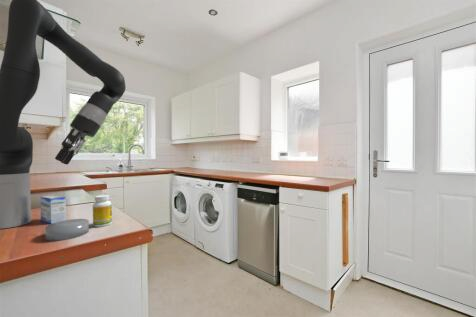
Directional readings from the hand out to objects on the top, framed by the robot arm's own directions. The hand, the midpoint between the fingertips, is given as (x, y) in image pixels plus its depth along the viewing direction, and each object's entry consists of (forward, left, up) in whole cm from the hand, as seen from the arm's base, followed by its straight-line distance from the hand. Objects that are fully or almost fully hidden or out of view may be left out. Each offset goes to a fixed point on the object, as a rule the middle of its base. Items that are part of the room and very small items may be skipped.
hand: (61, 162), depth 70 cm
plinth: (+7, -5, -21) cm, 23 cm away
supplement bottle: (+11, +4, -21) cm, 24 cm away
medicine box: (-10, +7, -21) cm, 24 cm away
